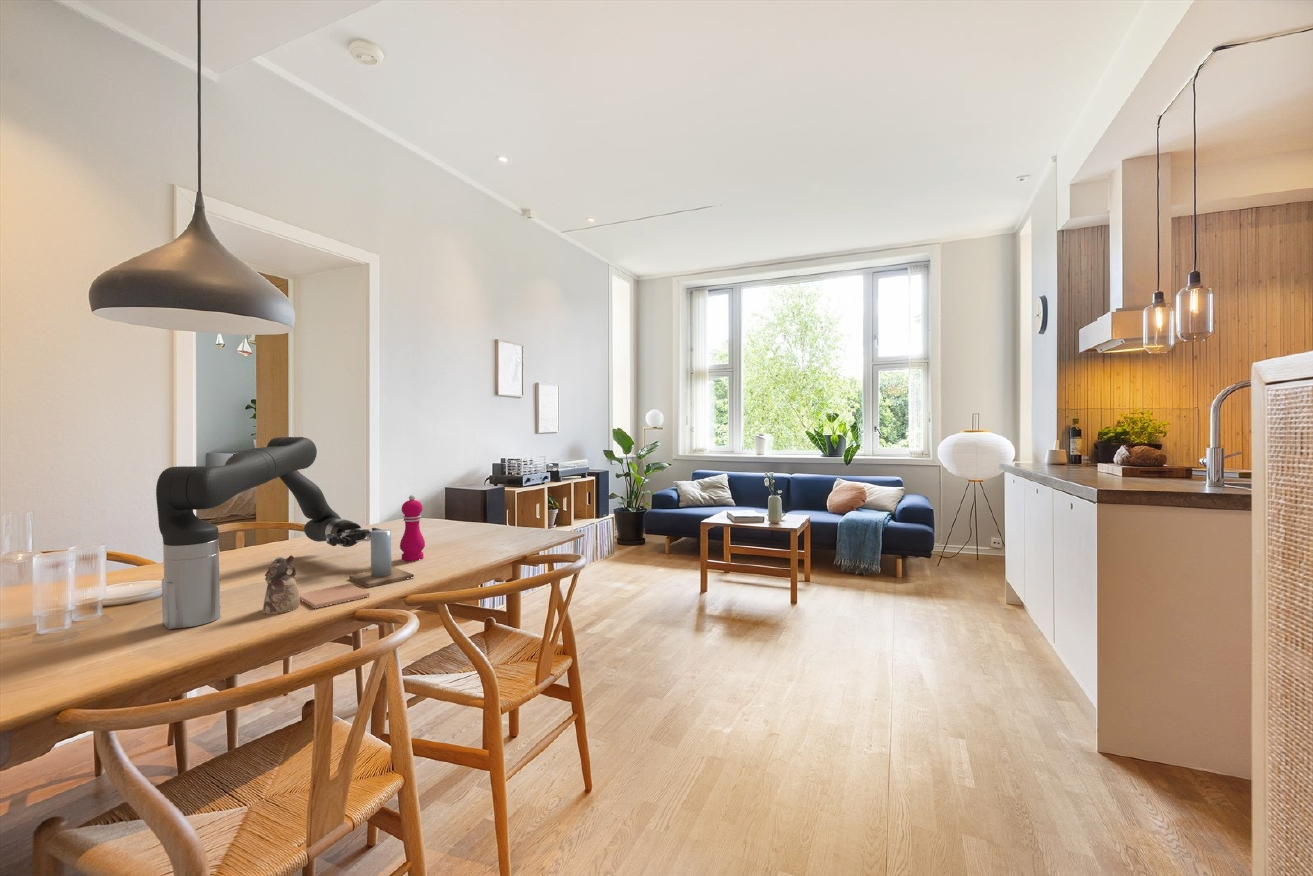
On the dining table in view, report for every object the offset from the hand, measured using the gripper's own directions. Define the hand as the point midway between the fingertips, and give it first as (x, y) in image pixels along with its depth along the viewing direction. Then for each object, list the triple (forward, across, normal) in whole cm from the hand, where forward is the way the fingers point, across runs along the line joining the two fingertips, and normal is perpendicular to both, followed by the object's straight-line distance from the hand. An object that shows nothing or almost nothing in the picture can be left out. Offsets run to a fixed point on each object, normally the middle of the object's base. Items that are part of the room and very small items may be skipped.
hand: (365, 540), depth 162 cm
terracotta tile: (+18, -15, +9) cm, 25 cm away
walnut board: (+10, 0, +9) cm, 14 cm away
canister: (+10, 0, +8) cm, 13 cm away
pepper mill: (-5, +16, +9) cm, 19 cm away
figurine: (+18, -26, +9) cm, 33 cm away
